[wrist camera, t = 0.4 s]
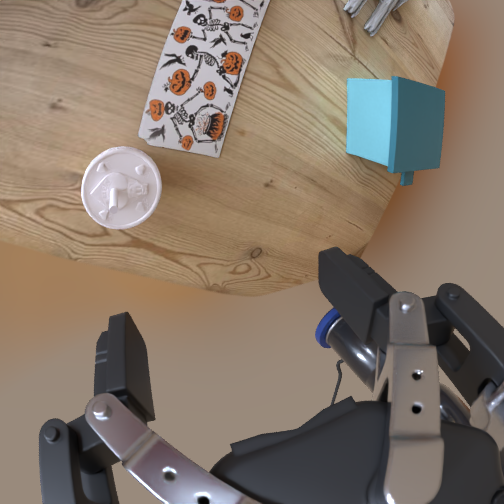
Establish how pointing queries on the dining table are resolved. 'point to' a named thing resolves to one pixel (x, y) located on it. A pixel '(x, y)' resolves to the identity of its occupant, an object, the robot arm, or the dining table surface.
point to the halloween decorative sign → (201, 74)
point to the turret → (378, 15)
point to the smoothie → (121, 187)
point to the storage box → (395, 124)
